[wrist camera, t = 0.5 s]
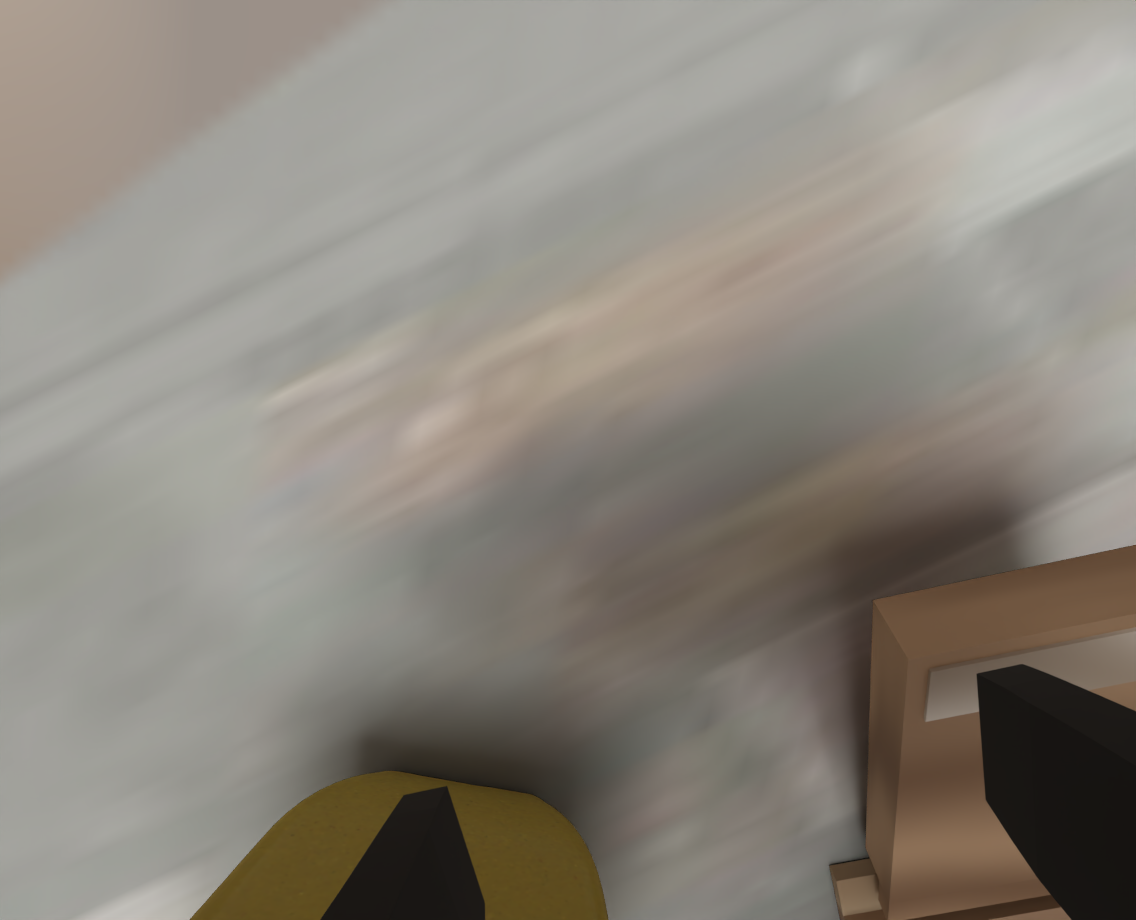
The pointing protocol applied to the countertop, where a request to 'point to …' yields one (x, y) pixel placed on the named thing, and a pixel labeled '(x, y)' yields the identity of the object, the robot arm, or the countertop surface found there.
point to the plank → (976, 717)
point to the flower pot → (355, 816)
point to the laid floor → (866, 916)
